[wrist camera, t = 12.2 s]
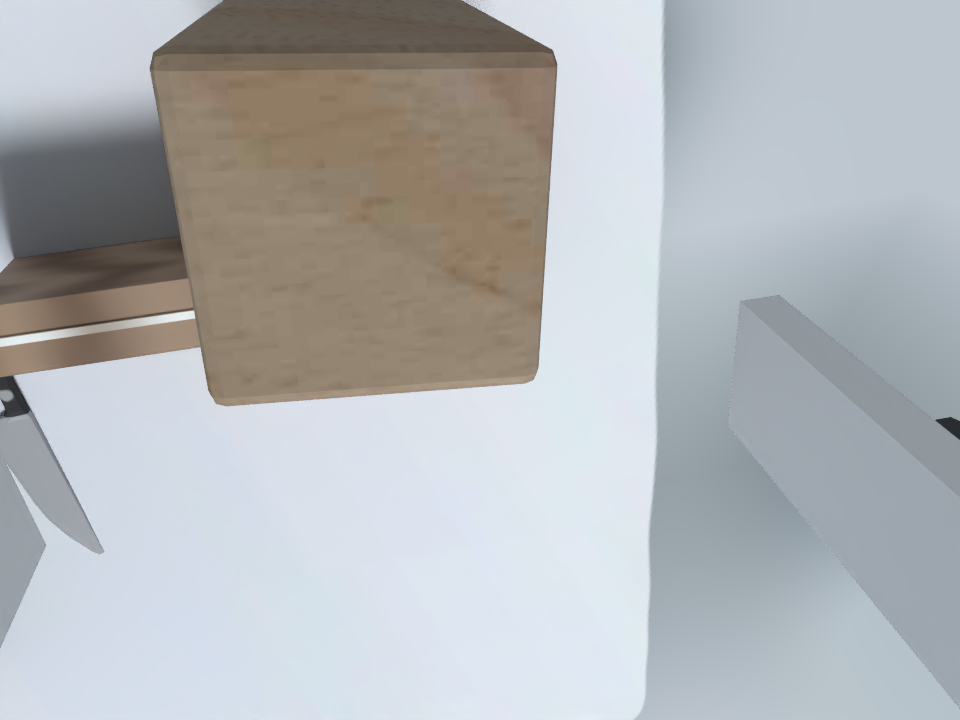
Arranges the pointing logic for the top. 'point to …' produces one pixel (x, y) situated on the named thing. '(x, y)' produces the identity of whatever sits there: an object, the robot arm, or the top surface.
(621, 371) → the top surface
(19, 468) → the chef's knife
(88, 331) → the brown wooden bar
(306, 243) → the wooden block
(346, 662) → the top surface
